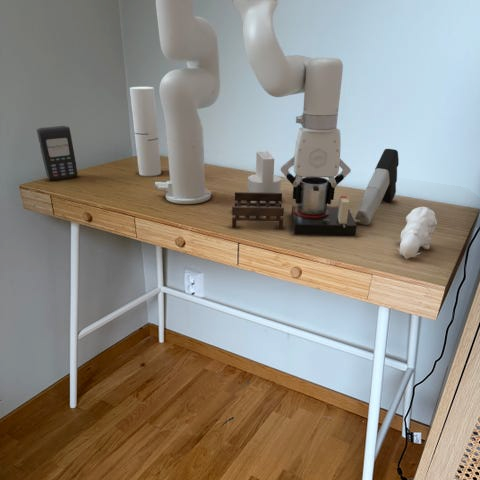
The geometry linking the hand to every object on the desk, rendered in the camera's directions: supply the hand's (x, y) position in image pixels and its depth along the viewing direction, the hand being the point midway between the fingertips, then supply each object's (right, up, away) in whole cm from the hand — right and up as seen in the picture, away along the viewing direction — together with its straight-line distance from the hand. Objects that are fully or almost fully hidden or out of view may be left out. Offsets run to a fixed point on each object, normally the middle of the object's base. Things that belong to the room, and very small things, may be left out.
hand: (312, 201), depth 110 cm
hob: (+2, -5, +1) cm, 6 cm away
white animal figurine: (+19, -14, -12) cm, 26 cm away
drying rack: (-13, -3, +4) cm, 14 cm away
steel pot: (0, -2, +1) cm, 2 cm away
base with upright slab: (-11, +5, +17) cm, 21 cm away
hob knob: (+6, -5, -4) cm, 9 cm away
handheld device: (+18, 0, +9) cm, 20 cm away
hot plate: (0, -2, +1) cm, 3 cm away
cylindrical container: (-47, +20, +40) cm, 65 cm away
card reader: (-73, +16, +34) cm, 82 cm away
